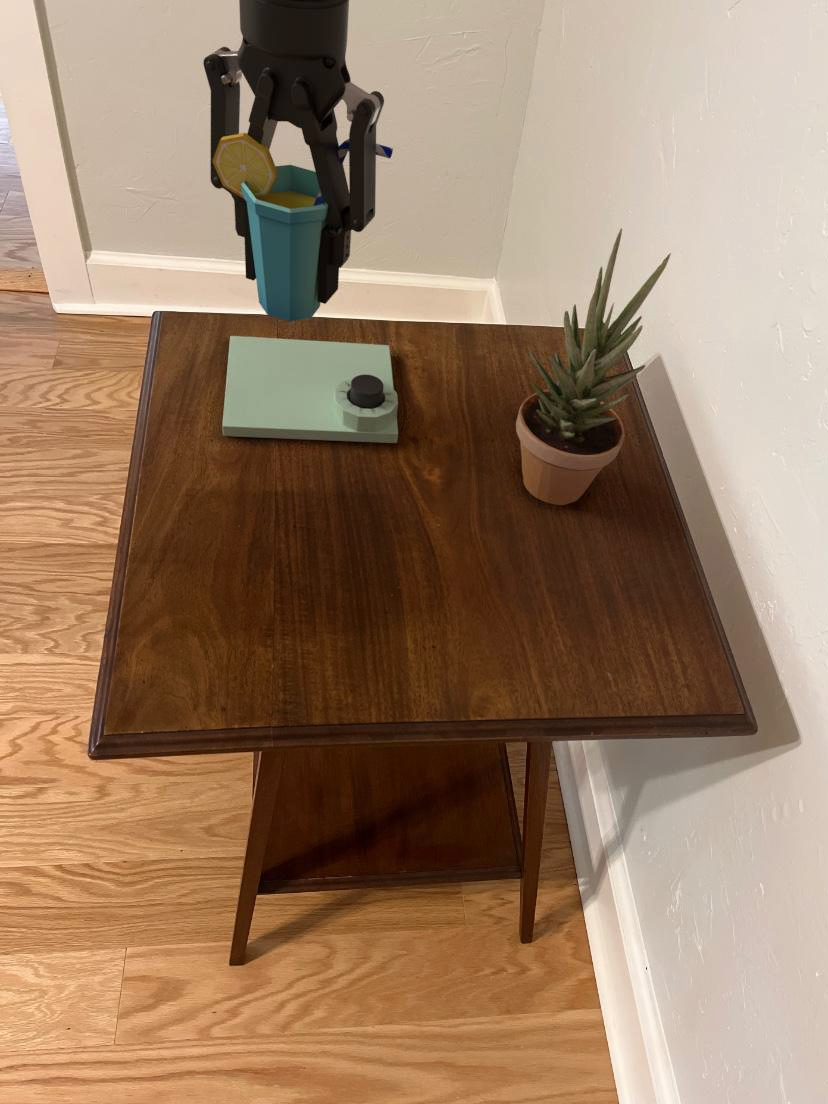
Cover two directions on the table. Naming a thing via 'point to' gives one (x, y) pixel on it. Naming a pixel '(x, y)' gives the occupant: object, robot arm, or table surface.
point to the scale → (306, 390)
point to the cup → (279, 222)
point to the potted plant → (580, 399)
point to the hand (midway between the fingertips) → (292, 283)
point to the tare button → (366, 391)
